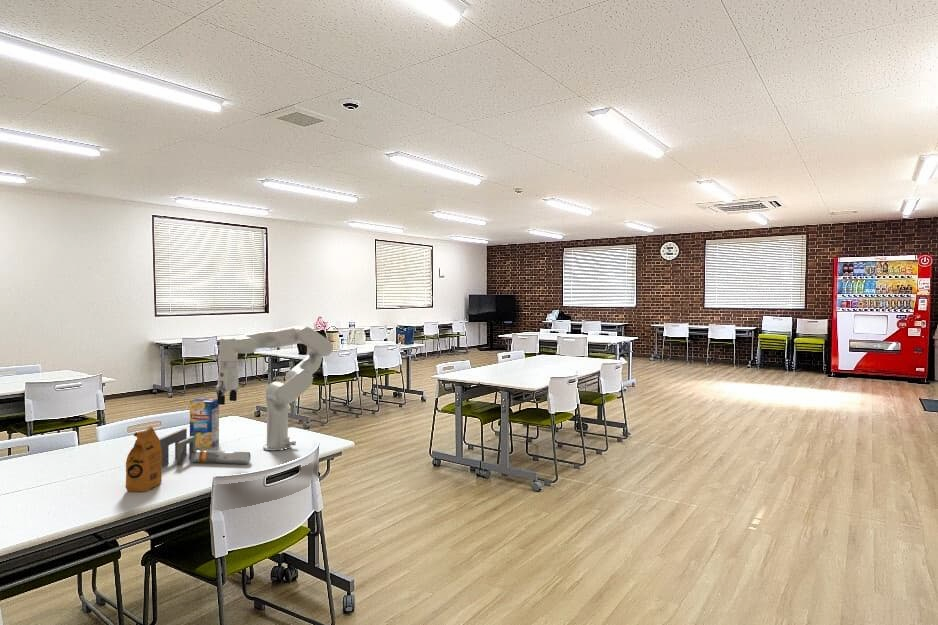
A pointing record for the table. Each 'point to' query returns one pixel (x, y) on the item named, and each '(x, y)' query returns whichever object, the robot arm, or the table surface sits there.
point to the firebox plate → (171, 439)
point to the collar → (180, 448)
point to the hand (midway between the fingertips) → (227, 402)
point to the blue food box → (204, 422)
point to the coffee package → (144, 462)
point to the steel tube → (221, 457)
